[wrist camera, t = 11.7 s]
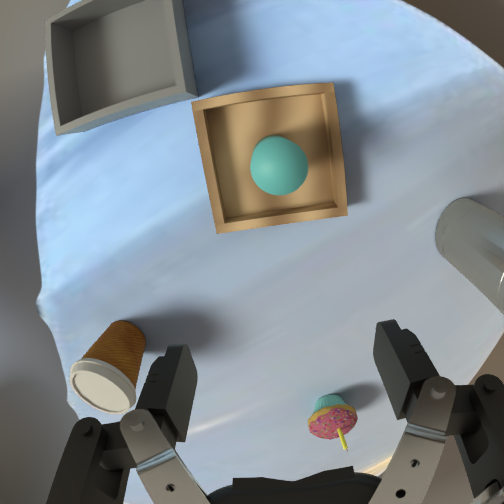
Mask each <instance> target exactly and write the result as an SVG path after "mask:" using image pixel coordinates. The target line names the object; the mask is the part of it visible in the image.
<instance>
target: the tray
mask: <svg viewBox="0 0 504 504" xmlns="http://www.w3.org/2000/svg"><path fill="white" fill-rule="evenodd" d="M191 104H192V110H193V115H194V121H195V126H196V132H197V137H198V142H199V148H200V153H201V158H202V163H203V168H204V173H205V178H206V183H207V188H208V193H209V198H210V203H211V208H212V213H213V217H214V222H215V227H216V232H217V234H220V233H226V232H233V231H239V230H246V229H253V228H260V227H267V226H274V225H281V224H288V223H295V222H302V221H310V220H317V219H324V218H332V217H340V216H347V215H348V212H347V196H346V183H345V171H344V161H343V151H342V142H341V133H340V125H339V118H338V110H337V104H336V97H335V91H334V84H333V83H317V84H304V85H293V86H283V87H274V88H266V89H259V90H252V91H246V92H239V93H234V94H228V95H222V96H217V97H212V98H207V99H202V100H198V101H193V102H191ZM269 135H279V136H282V137H284V138H286V139H288V140H290V141H292V142H294V143H295V144H297V145H298V146H299V147H300V148H301V149H302V150H303V152H304V153H305V155H306V157H307V161H308V174H307V177H306V179H305V181H304V183H303V184H302V185H301V186H300V187H299V188H298V189H297V190H296V191H294V192H292V193H290V194H286V195H272V194H269V193H267V192H265V191H263V190H262V189H260V188H259V187H258V186H257V184H256V183H255V182H254V180H253V178H252V175H251V170H250V164H251V159H252V154H253V150H254V147H255V145H256V144H257V142H258V141H259V140H260V139H262V138H264V137H266V136H269Z"/></svg>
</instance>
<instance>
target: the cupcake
mask: <svg viewBox="0 0 504 504" xmlns="http://www.w3.org/2000/svg"><path fill="white" fill-rule="evenodd" d="M357 419H358V418H357V415H356V411H355V409H354V408H353V407H351V406H350V405H346V404H345V402H344V401H343V400H342V398H341V397H340V396H338V395H326V396H324V397H322V398H320V399H319V400H318V401H317V402H316V406H315V410H314V413H313V415H312V416H311V417H310V418H309V419H308V427H309V430H310V432H311V433H312V434H313V435H315V436H317V437H320V438H324V439H334V438H338V437H340V439H341V442H342V445H343V448H344V449H346V451H347V452H348V450H347V448H348V447H347V444H346V441H345V438H344V436H343V435H344V434H346V433H348V432H349V431H350V430H352V428H353V427H355V424H356V422H357Z"/></svg>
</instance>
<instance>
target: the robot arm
mask: <svg viewBox="0 0 504 504" xmlns="http://www.w3.org/2000/svg"><path fill="white" fill-rule="evenodd" d="M436 245H437V248H438V251H439V252H440V254H441V255H442V256H443V257H444V258H445V259H446V260H447V261H449V262H450V263H451V264H452V265H453V266H454V267H455V268H456V269H457V270H458V271H460V272H461V273H462V274H463V275H464V276H465V277H466V278H467V279H468V280H469V281H470V282H471V283H472V284H473V285H474V286H476V287H477V288H478V289H479V290H480V291H481V292H482V293H483V294H484V295H485V296H486V297H487V298H488V299H489V300H490V301H491V302H492V303H493V304H494V305H495V306H496V307H497V308H498V309H499V310H500V311H501V313H503V314H504V216H502V215H500V214H498V213H497V212H495V211H493V210H491V209H489V208H487V207H485V206H483V205H481V204H479V203H477V202H475V201H473V200H471V199H468V198H460V199H458V200H455V201H454V202H452V203H451V204H450V205H449V206H448V207H447V208H446V209H445V210H444V212H443V213H442V215H441V217H440V219H439V221H438V224H437V228H436ZM373 355H374V361H375V364H376V366H377V369H378V371H379V374H380V376H381V379H382V381H383V384H384V386H385V389H386V391H387V394H388V397H389V399H390V402H391V405H392V407H393V410H394V413H395V415H396V418H397V420H399V419H403V418H406V420H407V422H408V424H407V426H406V428H405V431H404V433H403V435H402V438H401V440H400V442H399V444H398V446H397V449H396V451H395V453H394V455H393V457H392V459H391V461H390V463H389V465H388V467H387V469H386V471H385V472H384V474H383V476H382V478H379V477H377V476H374V475H371V474H366V473H358V472H354V469H353V466H350V467H344V468H339V469H333V470H327V471H323V472H320V473H317V474H314V475H312V476H309V477H306V478H303V479H300V480H297V481H284V480H277V479H270V478H264V477H257V478H233V485H229V486H226V487H223V488H220V489H218V490H216V491H214V492H212V493H210V494H209V495H207V494H206V492H205V491H204V490H203V489H202V487H201V486H200V485H199V483H198V482H197V481H196V479H195V478H194V477H193V475H192V474H191V472H190V471H189V470H188V468H187V467H186V465H185V464H184V462H183V461H182V459H181V458H180V456H179V455H178V453H177V452H176V450H175V445H176V442H185V440H186V435H187V430H188V425H189V420H190V415H191V410H192V405H193V400H194V395H195V390H196V385H197V370H196V367H195V364H194V361H193V358H192V356H191V353H190V350H189V347H188V345H187V344H174V345H169V346H168V348H167V351H166V354H165V356H159V357H158V358H157V359H156V360H155V361H154V363H153V364H152V365H151V367H150V370H149V373H148V375H147V378H146V383H144V386H143V389H142V391H141V394H140V397H139V400H138V402H137V405H136V408H135V410H132V411H129V412H128V413H126V414H125V415H124V416H123V417H122V419H121V421H120V422H115V423H109V424H103V425H102V424H101V423H100V422H99V421H98V420H97V419H96V418H93V417H86V418H83V419H81V420H79V421H78V422H77V423H76V424H75V425H74V427H73V429H72V432H71V434H70V437H69V439H68V442H67V445H66V447H65V450H64V453H63V455H62V458H61V461H60V464H59V466H58V469H57V472H56V475H55V478H54V481H53V484H52V487H51V490H50V493H49V496H48V500H47V503H46V504H123V501H124V496H125V491H126V486H127V481H128V477H129V472H130V468H136V471H137V473H138V475H139V477H140V479H141V481H142V483H143V485H144V487H145V489H146V490H147V492H148V494H149V496H150V497H151V499H152V501H153V503H154V504H421V503H422V501H423V499H424V497H425V494H426V492H427V490H428V487H429V485H430V483H431V480H432V478H433V475H434V473H435V470H436V468H437V465H438V462H439V459H440V457H441V454H442V450H443V448H444V445H445V441H446V436H447V435H454V437H455V440H456V443H457V445H458V448H459V451H460V454H461V457H462V460H463V463H464V466H465V469H466V472H467V476H468V479H469V482H470V485H471V489H472V492H473V495H474V499H473V500H472V502H471V503H470V504H504V384H503V383H502V381H501V380H500V379H499V378H498V377H496V376H494V375H490V374H485V375H482V376H480V377H478V379H477V380H476V381H475V384H474V385H454V384H453V382H452V381H451V380H449V379H448V378H445V377H441V376H440V375H439V374H438V372H437V370H436V368H435V367H434V365H433V363H432V362H431V360H430V358H429V356H428V355H427V353H426V352H425V350H424V348H423V346H422V345H421V343H420V341H419V340H418V338H417V337H416V335H415V334H414V333H412V332H411V331H409V330H408V329H403V330H401V328H400V327H399V325H398V323H397V322H396V320H394V319H393V320H388V321H382V322H378V323H377V325H376V333H375V341H374V348H373Z"/></svg>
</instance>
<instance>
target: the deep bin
mask: <svg viewBox="0 0 504 504" xmlns="http://www.w3.org/2000/svg"><path fill="white" fill-rule="evenodd" d="M45 35H46V36H45V37H46V59H47V72H48V83H49V92H50V100H51V107H52V114H53V120H54V126H55V132H56V136H58V135H65V134H71V133H78V132H85V131H87V130H90V129H93V128H95V127H98V126H101V125H104V124H106V123H109V122H112V121H115V120H118V119H121V118H124V117H127V116H130V115H133V114H137V113H140V112H143V111H147V110H150V109H154V108H157V107H161V106H165V105H169V104H172V103H176V102H180V101H185V100H189V99H193V98H198V92H197V86H196V80H195V74H194V68H193V62H192V56H191V50H190V44H189V38H188V32H187V25H186V19H185V13H184V6H183V0H82V1H80V2H78V3H76V4H74V5H72V6H70V7H68V8H66V9H65V10H63V11H61V12H59V13H58V14H56V15H54V16H52V17H51V18H49V19H48V20H46V21H45Z"/></svg>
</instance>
